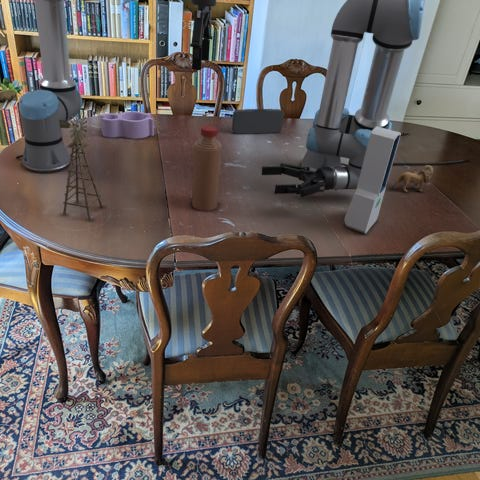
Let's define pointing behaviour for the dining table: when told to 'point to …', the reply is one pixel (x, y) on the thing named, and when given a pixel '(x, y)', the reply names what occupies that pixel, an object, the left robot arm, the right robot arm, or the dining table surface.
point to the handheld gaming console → (257, 121)
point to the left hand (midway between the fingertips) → (200, 65)
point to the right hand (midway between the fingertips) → (268, 179)
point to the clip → (127, 125)
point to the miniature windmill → (73, 145)
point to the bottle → (206, 173)
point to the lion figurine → (415, 178)
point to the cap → (208, 131)
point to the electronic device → (372, 179)
